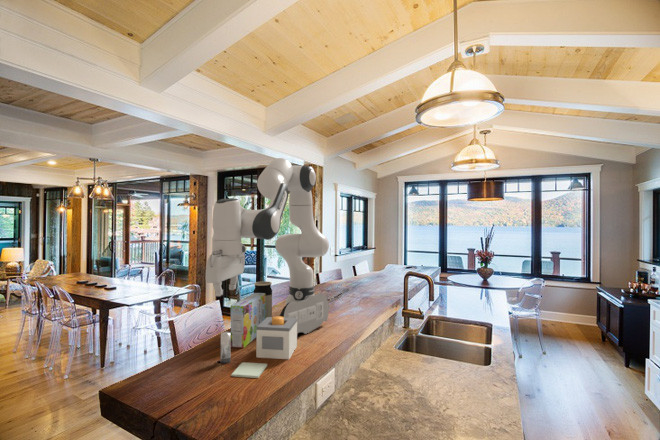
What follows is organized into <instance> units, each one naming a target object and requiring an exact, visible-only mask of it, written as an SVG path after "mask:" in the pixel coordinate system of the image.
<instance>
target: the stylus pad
mask: <svg viewBox="0 0 660 440" xmlns="http://www.w3.org/2000/svg"><path fill="white" fill-rule="evenodd" d="M267 367H268V363H261V362H260V363H259V362H243V361H242V362H241V363H240V364H239V365H238V366H237V368H235V369H234V371H233V372H232V373H231V375H230V376H231V377H237V378H248V379H249V378H252V379H254V378H255V379H259V378H260V376H261V375H262V374H263V372H264V371H265V369H266V368H267Z"/></svg>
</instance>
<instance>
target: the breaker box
mask: <svg viewBox="0 0 660 440" xmlns="http://www.w3.org/2000/svg"><path fill="white" fill-rule="evenodd" d="M273 317H274V316H272V317H267V318H266V319H265V320H264V321H262V322H261V323H260V324H259V325H258V326H257V337H256V344H255V345H256V352H255V353H256V355H255V356H256V358H261V359H279V360H280V359H281V360H290V359H291V357H292V355H293V354H294V352H295V351H296V349H297V347H298V333H297V318H284V325H272V318H273ZM294 350H295V351H294Z"/></svg>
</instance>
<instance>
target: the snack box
mask: <svg viewBox="0 0 660 440" xmlns="http://www.w3.org/2000/svg"><path fill="white" fill-rule="evenodd" d="M265 319H266V297H265V293H252V294H249V295H247V296H246V297H244V298H242V299H241V300H239V301H237V302H235V303H234V304H231V305H230V332H231V348H241V349H245V348H246V347H247V346H248V345H249V344H250V343H251V342H252V341H254V340H255V339H257V326H258V325H259V324H260V323H261V322H262V321H264V320H265Z"/></svg>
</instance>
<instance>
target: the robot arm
mask: <svg viewBox="0 0 660 440" xmlns="http://www.w3.org/2000/svg"><path fill="white" fill-rule="evenodd" d="M316 183H317V173H316V171H315V169H314V168H313V166H310V165H305V164H304V165H292V163H291V162H290V161H289V160H288V159H286V158H284V157H277V158H276V159H274V160H272V161H271V162H270V163H269V164H268V165H266V167H265V168H264V169H263V170H262V172H261V173H260V175H258V178H257V181H256V185H257V189H258V191H259V193H260V194H261V195H262V196H263V197H264V198H265V199H267V200H270V202H269V205H268V206H267V207H266V208H263V209H247V208H245V207H243V206H242V205H241V202H240V200H239V199H238V198H234V197H233V198H221V199H218V200H216V201H215V202H214V205H213V209H212V222H211V224H212V225H211V226H212V229H213V234H212V238H211V254H210V255H209V257H208V258H207V261H206V269H205V281H206V283H207V284H212V285H213V288H214V292H215V293H214V295H215V297H222V296H223V295H224V289H223V288H222V285H223V282H224V281H226V280H228V279H230V283H229V284H228V289H229V291H234V290H236V289H237V283H238V280H239V276H240V275H242V274H243V273H244V271H245V260H246V255H245V253H247V246H245V245H244V244H243V243H242V238H243V239H244V238H245V239H260V240H268V241H270V240H272V239H273V238H275V236H277V234H278V233H279V232H280V227H281V220H282V217H283V214H284V211H285V209H286V205H287V202H288V210H289V211H288V212H289V215H288V216H289V222H290V223H291V224H292V225H293V226H294V227H297V228H299V230H300V232H301V233H285V234H282V235H281V234H280V235H279V236H278V238H277V239H276V241H275V249H276V252H277V254H278V255H280V256H281V257H282V258H283V260H284V261H285V262H286V265H287V267H288V271H289V286H288V294H289V295H287V297H286V298H285V306H286V305H287V304H288V303H289V302H298V301H301V300H304V299H306V298H307V297H308V296H313V295H315V286H314V270H313V268H312V267H311V266H310V265H308V264H306V263H305V261H304V260H303V258H319V257H323V256H325V255H327V253H328V251H329V249H330V248H329V247H330V243H329V240H328V238H327V237H326V236H325V235H324V234H323V233H321V231H320V230H319V228H318V227H317V226H316V223H315V219H314V210H313V209H314V207H313V205H314V204H313V194H312V189H313V188H314V187H315V185H316Z"/></svg>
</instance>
